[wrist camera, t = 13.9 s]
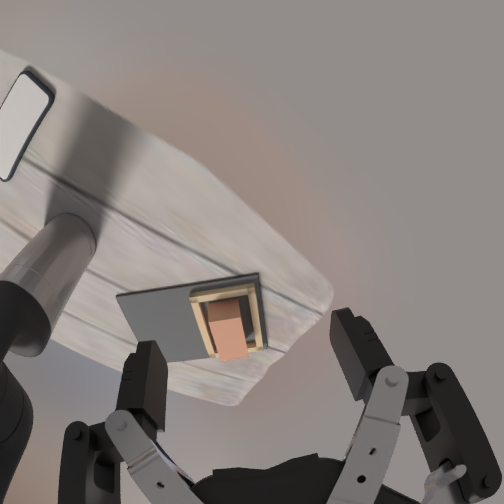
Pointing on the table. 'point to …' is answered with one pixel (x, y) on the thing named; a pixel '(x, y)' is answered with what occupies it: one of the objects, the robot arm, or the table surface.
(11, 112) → the phone case
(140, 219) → the table surface
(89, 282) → the table surface
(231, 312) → the terracotta block
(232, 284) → the mat
